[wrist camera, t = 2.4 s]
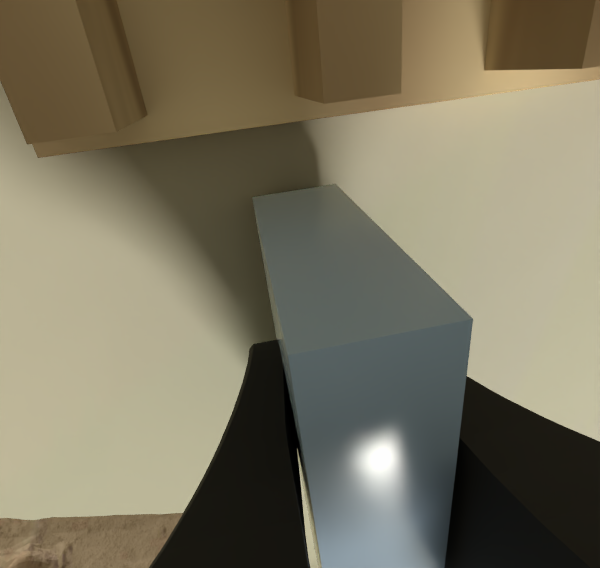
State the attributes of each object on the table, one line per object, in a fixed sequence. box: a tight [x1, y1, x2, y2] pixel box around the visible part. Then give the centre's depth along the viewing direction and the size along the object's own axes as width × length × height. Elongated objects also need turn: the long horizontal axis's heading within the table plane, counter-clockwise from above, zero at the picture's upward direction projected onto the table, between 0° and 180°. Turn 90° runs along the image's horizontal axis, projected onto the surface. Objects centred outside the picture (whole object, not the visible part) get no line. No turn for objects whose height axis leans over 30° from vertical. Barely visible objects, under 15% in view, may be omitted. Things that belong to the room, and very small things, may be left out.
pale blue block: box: [252, 184, 473, 568], centre depth 9 cm, size 2×8×6 cm, turn 7°
